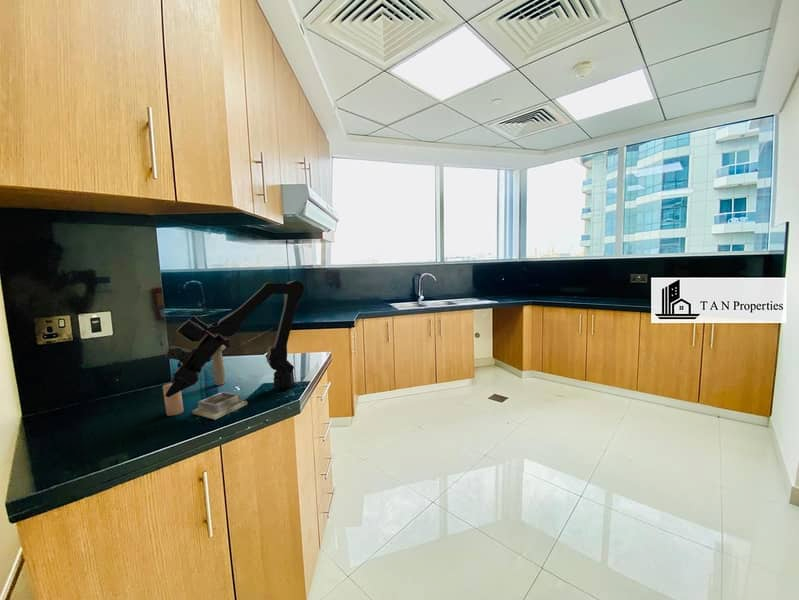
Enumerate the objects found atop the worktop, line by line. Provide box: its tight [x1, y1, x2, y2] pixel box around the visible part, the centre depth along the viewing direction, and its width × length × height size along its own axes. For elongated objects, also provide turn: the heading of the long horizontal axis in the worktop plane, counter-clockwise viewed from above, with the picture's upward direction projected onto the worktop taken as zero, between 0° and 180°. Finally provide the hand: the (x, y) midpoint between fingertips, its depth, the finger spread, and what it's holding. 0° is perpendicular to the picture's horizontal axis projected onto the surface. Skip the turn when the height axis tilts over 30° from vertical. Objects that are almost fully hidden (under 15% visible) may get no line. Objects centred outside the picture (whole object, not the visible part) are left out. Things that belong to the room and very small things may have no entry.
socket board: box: [191, 391, 248, 420], centre depth 103 cm, size 11×11×4 cm
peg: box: [162, 382, 185, 417], centre depth 102 cm, size 4×4×9 cm
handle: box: [211, 345, 227, 386], centre depth 125 cm, size 5×6×15 cm
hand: (168, 391), depth 101 cm, fingers open, 9 cm apart
